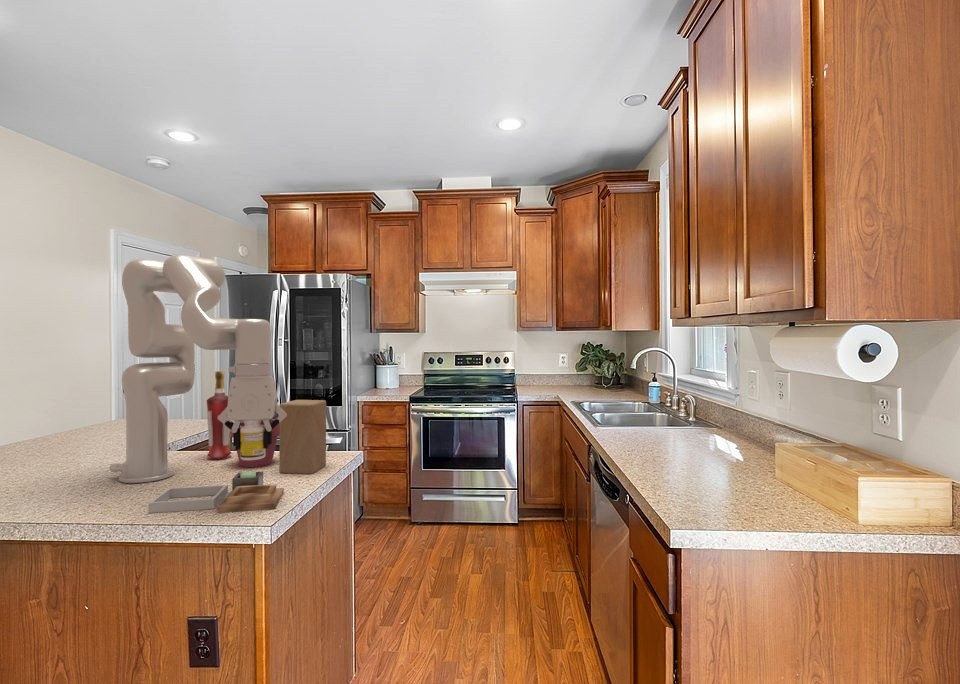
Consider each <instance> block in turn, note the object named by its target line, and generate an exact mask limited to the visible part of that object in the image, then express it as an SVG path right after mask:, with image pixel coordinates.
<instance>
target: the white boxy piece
mask: <svg viewBox="0 0 960 684" xmlns="http://www.w3.org/2000/svg"><path fill="white" fill-rule="evenodd" d="M243 472H244V471H243ZM243 472H237V473H236V475H234V477H233V478H231V479H232V480H231V491H233V490H234V489H235V488H236V487H237V486H252V485H264V471H255V472H256V477H246V478H240V474H241V473H243Z"/></svg>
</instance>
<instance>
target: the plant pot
mask: <svg viewBox="0 0 960 684" xmlns="http://www.w3.org/2000/svg"><path fill="white" fill-rule="evenodd" d="M275 419H276V418H275ZM275 419H273V418H271V420H272V422H273V421H274V420H275ZM261 425H264V422H263V420H262V422H261ZM243 426H244V422H243V421H242V424H241V427H243ZM264 426H265V425H264ZM241 427H240V429H241ZM265 429H266V428H265ZM279 435H280V423H279V424H278V425H277V426H276V427H274V428H273V429H272V444H270V446H269V447H268V449H266V454H265V457H264V458H262V459H258V460H242V459H241V457H240V449H239V450H236V454H237V457H238V462H239V465H240V467H244V468H257V467H263V466H267V465H270V464H272V463H273V460H274V455H275V450H276V446H277V441H278V438H279V437H278V436H279ZM230 438H233V433H232V431H230Z"/></svg>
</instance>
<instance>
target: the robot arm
mask: <svg viewBox="0 0 960 684" xmlns="http://www.w3.org/2000/svg"><path fill="white" fill-rule="evenodd" d="M225 274H226V272H225V270H224V268H223V266H222V265H221V264H220V262H218V261H217V260H215V259H212V258H206V257H200V256H194V255H188V254H175V255H171V256H169V257H168V258H166V259H165V260H161V259H160V260H158V259H154V258H153V259H150V258H138V259H134V260H130V261H129V262H128V263H127V264H126V265H125V267H124V268H123V271H122V275H121V286H122V291H123V294H124V297H125V300H126V305H127V331H128V332H127V335H128V337H127V339H128V340H127V341H128V349H129V351H130V354H132V356H135V357H136V358H143V359H151V358H152V359H156V358H157V359H158V358H160V359H161V358H162V359H163V358H164V359H165V358H169V362H159V361H158V362H142V363H141V362H139V363H135V364H132V365H129V366H128V367H127V368H126V369H125V370H124V371H123V372H122V374H121V375H122V376H121V385H122V390H123V395H124V400H125V417H126V418H125V420H126V421H125V422H126V423H125V424H126V426H125V429H126V431H125V440H126V441H125V442H126V444H125V447H126V449H125V457H126V458H125V460H126V461H125V462H123V463H111V464H110V466H109V471H110V472H111V473H118V472H120V473H121V474H120V475H119V477H118V481H119V482H121V483H125V484H137V483H139V484H141V483H149V482H155V481H160V480H164V479H167V478H170V477H172V476H173V475H174V474H175V469H174V468H172V467H169V466H168V436H169V435H168V427H169V426H168V421H169V420H168V417H169V416H168V410H167V408H166V406H165V405H164V403H163V402H162V401H161V400H160V398H159V397H165V396H168V397H169V396H176V395H184V394H186V393H189V392H190V391H191V389H192V388H193V386H194V384H195V375H196V374H195V366H196V365H195V345H196V346H197V347H199V348H200V349H203V350H206V351H213V350H215V351H217V350H218V351H220V350H221V351H222V350H226V351H228V350H229V351H234V352H235V353H234V355H235V357H234V361H235V362H234V365H232V366H228V368H227V369H228V373H232V374H233V375H234V377H231V378H230V383H229V387H228V394H227V396H228V406H227V408H226V409H225V410H224V411H223V412H222V413H221V414H220V415H219V416H218V420H219V421H221V422H222V423H223V424H225V425H226V426H227V427H228V428H229V429H230V430H231V431H232V433H233V437H232V441H233V442H232V444H233V445H232V446H234V447H235V451H237V450H239V449H240V427H241V424H242V421H254V420H263V422H264V425H265V428H266V429H265V432H264V448H265V449H268V447H269V446H270V444H272V429H273V428H274V427H276V426H277V425H278V424H279V423H280V422H281V421H282V420H283V419H284V418H286V417H287V414H286V413H285V412H284V411H283V410H282V408H281V407H280V404H278V403H277V391H276V385H275V379H274V376H271V324H270V322H269V320H266V319H262V318H224V317H209V316H208V315H207V314H206V313H205V312H208V311H210V310H212V309H214V308H215V307H217V305H218V303H219V302H220V301H221V297H222V294H221V290H220V288H221V287H222V286H223V285H224V282H225V277H226V275H225ZM155 292H161V293H168V294H170V293H171V294H178V296H179V297H180V299H181V300H182V301H183V305H182V307H181V312H180V319H181V320H180V321H181V324H171V323H169V324H168V323H166V309H165V306H164V304H163V302H162V300H161V299H160V298H159V296H158V295H157V294H156V293H155ZM276 415H278V416H277V418H275V420H274V421H273V422H272V420H271V419H273V418H274V417H275V416H276ZM227 416H228V418H227ZM231 431H230V432H231Z"/></svg>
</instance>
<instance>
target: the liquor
mask: <svg viewBox="0 0 960 684" xmlns="http://www.w3.org/2000/svg"><path fill="white" fill-rule="evenodd" d="M214 379H215V387H214V393H213V396H210V397H209V398H208V399H206V414H207V415H206V416H207V417H206V419H207V429H208V430H207V433H208V435H207V437H208V453H207V457H208V458H210V459H211V460H213V461H215V460H217V461H219V460H224V459H228V457H229V456H230V455H231V454H232V451H231V430H230V429H229V428H228V427H227V426H226V425H225V424H223V423H222V422H221V421H219V420H218V416H219V415H220V414H221V413H222V412H223V411H224V410H225V409H226V408H227V406H228V395H226V392H225V382H224V380H225V371H224V370H215V371H214ZM227 418H228V416H227Z"/></svg>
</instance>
